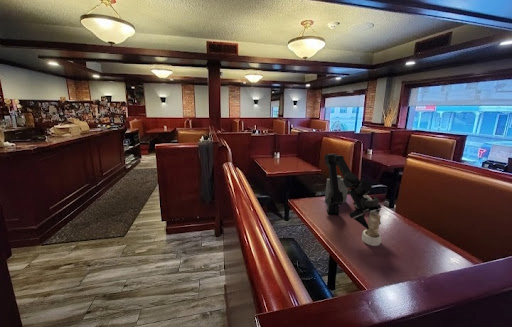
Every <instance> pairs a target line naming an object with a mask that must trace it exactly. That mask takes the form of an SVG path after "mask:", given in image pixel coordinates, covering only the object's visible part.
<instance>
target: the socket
mask: <svg viewBox="0 0 512 327" xmlns="http://www.w3.org/2000/svg"><path fill="white" fill-rule="evenodd" d="M366 233H367V229H364V230H363V231H362V235H361V241H362V242H363V243H365V244H366V245H369V246H374V247H377V246H378V247H379V246H380V245H381V242H382V234H381V233H380V232H378V235H377V238H374V237H370V236H368V235H366Z"/></svg>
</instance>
